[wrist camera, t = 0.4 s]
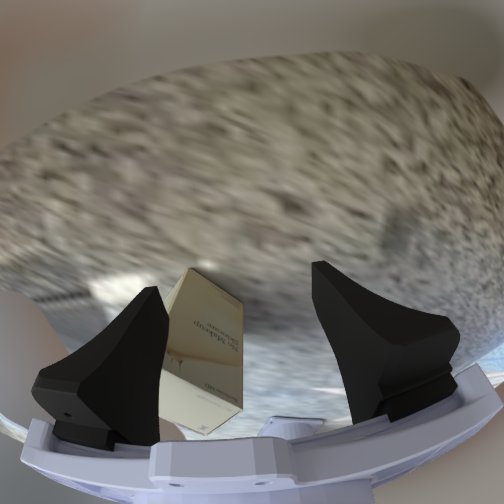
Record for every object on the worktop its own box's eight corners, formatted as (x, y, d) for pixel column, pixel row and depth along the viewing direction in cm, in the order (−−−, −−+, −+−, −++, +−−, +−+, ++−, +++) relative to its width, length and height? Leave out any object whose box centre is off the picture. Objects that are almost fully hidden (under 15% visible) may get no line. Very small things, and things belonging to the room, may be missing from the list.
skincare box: (244, 303, 25) (250, 410, 13) (216, 333, 26) (208, 439, 14) (186, 264, 23) (148, 360, 12) (161, 299, 24) (119, 397, 13)
